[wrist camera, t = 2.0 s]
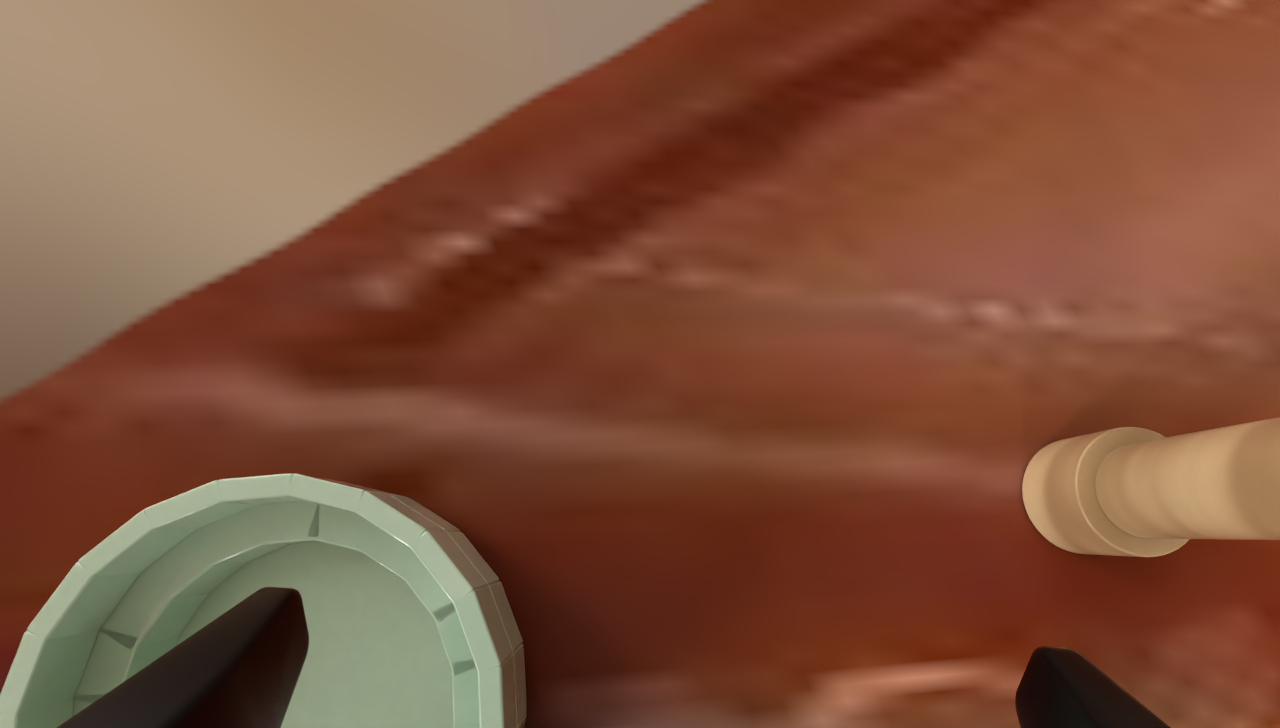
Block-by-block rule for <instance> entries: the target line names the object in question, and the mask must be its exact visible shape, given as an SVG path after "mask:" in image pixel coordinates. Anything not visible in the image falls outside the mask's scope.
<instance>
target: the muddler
mask: <svg viewBox="0 0 1280 728" xmlns="http://www.w3.org/2000/svg"><path fill="white" fill-rule="evenodd" d="M1022 495H1023V501H1024V505H1025V509H1026V511H1027V514H1028V516H1029V518H1030V520H1031V521H1032V523H1033V525H1034V526H1035V527H1036V529H1037V530H1038V531H1039V532H1040V533H1041V534H1042V535H1043V536H1044V537H1045V538H1046V539H1047V540H1048V541H1050V542H1051V543H1053V544H1054V545H1056V546H1058V547H1060V548H1062V549H1064V550H1067V551H1069V552H1073V553H1078V554H1092V555H1113V556H1134V557H1157V556H1162V555H1166V554H1168V553H1171V552H1173V551H1175V550H1177V549H1179V548H1180V547H1181V546H1183V545H1184V544H1185V543H1187V541H1188V540H1189V539H1237V540H1280V417H1279V418H1273V419H1267V420H1262V421H1256V422H1250V423H1245V424H1239V425H1234V426H1228V427H1222V428H1217V429H1211V430H1206V431H1200V432H1194V433H1189V434H1183V435H1177V436H1172V437H1165V436H1163V435H1161V434H1159V433H1157V432H1154V431H1151V430H1148V429H1144V428H1139V427H1120V428H1115V429H1110V430H1105V431H1101V432H1096V433H1091V434H1087V435H1082V436H1077V437H1073V438H1068V439H1064V440H1059V441H1056V442H1053V443H1051V444H1049V445H1047V446H1045V447H1044V448H1042V449H1041V450H1040V451H1039V452H1037V453H1036V454H1035V456H1034V457H1033V458H1032V459H1031V461H1030V463H1029V464H1028V466H1027V469H1026V471H1025V474H1024V478H1023V485H1022Z"/></svg>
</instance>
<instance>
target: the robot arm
mask: <svg viewBox="0 0 1280 728" xmlns="http://www.w3.org/2000/svg"><path fill="white" fill-rule="evenodd" d="M308 648H309V633H308V627H307V622H306V617H305V612H304V606H303V601H302V597H301V594H300V593H299V591H298V590H296V589H293V588H281V587H264V588H261V589H259V590H257V591H256V592H254V593H253V594H251V595H250V596H249V597H247V598H246V599H244V600H243V601H241V602H240V603H238V604H237V605H235V606H234V607H232V608H231V609H230V610H228V611H227V612H225V613H224V614H222V615H221V616H219V617H218V618H216V619H215V620H213V621H212V622H211V623H209V624H208V625H206V626H205V627H203V628H202V629H200V630H199V631H197V632H196V633H194V634H193V635H191V636H190V637H189V638H187V639H186V640H184V641H183V642H181V643H180V644H178V645H177V646H175V647H174V648H172V649H171V650H170V651H168V652H167V653H165V654H164V655H162V656H161V657H159V658H158V659H156V660H155V661H153V662H152V663H151V664H149V665H148V666H146V667H145V668H143V669H142V670H140V671H139V672H137V673H136V674H134V675H133V676H132V677H130V678H129V679H127V680H126V681H124V682H123V683H121V684H120V685H118V686H117V687H115V688H114V689H113V690H111V691H110V692H108V693H107V694H105V695H104V696H102V697H101V698H99V699H98V700H96V701H95V702H94V703H92V704H91V705H89V706H88V707H86V708H85V709H83V710H82V711H80V712H79V713H77V714H76V715H75V716H73V717H72V718H70V719H69V720H67V721H66V722H64V723H63V724H61V725H60V726H58V727H57V728H281V725H282V723H283V720H284V717H285V714H286V712H287V709H288V706H289V703H290V701H291V698H292V695H293V692H294V690H295V687H296V684H297V681H298V679H299V676H300V673H301V670H302V668H303V665H304V662H305V660H306V656H307V653H308ZM1015 704H1016V711H1017V716H1018V719H1019V723H1020V727H1021V728H1170V727H1169V726H1168V725H1167V724H1165V723H1164V722H1163V721H1162V720H1161V719H1159V718H1158V717H1157V716H1156V715H1154V714H1153V713H1152V712H1151V711H1150V710H1148V709H1147V708H1146V707H1145V706H1143V705H1142V704H1141V703H1140V702H1139V701H1137V700H1136V699H1135V698H1134V697H1132V696H1131V695H1130V694H1129V693H1128V692H1126V691H1125V690H1124V689H1123V688H1122V687H1120V686H1119V685H1118V684H1117V683H1115V682H1114V681H1113V680H1112V679H1111V678H1109V677H1108V676H1107V675H1106V674H1104V673H1103V672H1102V671H1101V670H1100V669H1098V668H1097V667H1096V666H1095V665H1093V664H1092V663H1091V662H1090V661H1089V660H1087V659H1086V658H1085V657H1084V656H1082V655H1081V654H1080V653H1078V652H1077V651H1075V650H1073V649H1069V648H1060V647H1047V646H1042V647H1038V648H1037V649H1036V650H1035V651H1034V652H1033V654H1032V656H1031V658H1030V660H1029V663H1028V665H1027V668H1026V670H1025V672H1024V675H1023V677H1022V679H1021V682H1020V684H1019V686H1018V689H1017V692H1016V703H1015Z"/></svg>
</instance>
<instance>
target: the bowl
mask: <svg viewBox="0 0 1280 728" xmlns="http://www.w3.org/2000/svg"><path fill="white" fill-rule="evenodd" d="M264 587H281V588H293V589H296V590H298V591H299V593H300V594H301V597H302V601H303V606H304V612H305V617H306V622H307V627H308V633H309V648H308V653H307V656H306V660H305V662H304V665H303V668H302V670H301V673H300V676H299V679H298V681H297V684H296V687H295V690H294V692H293V695H292V698H291V701H290V703H289V706H288V709H287V712H286V714H285V717H284V720H283V723H282V725H281V728H524V724H525V720H526V712H527V701H526V681H525V661H524V645H523V644H522V643H523V640H522V637H521V634H520V632H519V629H518V626H517V624H516V621H515V618H514V615H513V613H512V610H511V607H510V605H509V602H508V599H507V596H506V594H505V591H504V588H503V586H502V583H501V581H499V578H498V577H497V575H496V574H495V573H494V572H493V570H492V569H491V568H490V567H489V565H488V564H487V563H486V561H485V560H484V559H483V558H482V556H481V555H480V554H479V553H478V551H477V550H476V549H475V548H474V546H473V545H472V544H471V543H470V541H469V540H468V539H467V538H466V536H465V535H464V534H463V533H462V532H461V531H460V530H459V529H458V528H457V527H455V526H453V525H452V524H450V523H449V522H447V521H445V520H444V519H442V518H441V517H439V516H438V515H436V514H434V513H433V512H431V511H430V510H428V509H427V508H425V507H423V506H422V505H420V504H419V503H417V502H416V501H414V500H412V499H411V498H408V497H406V496H403V495H398V494H394V493H390V492H386V491H382V490H377V489H373V488H369V487H365V486H361V485H356V484H352V483H347V482H342V481H336V480H330V479H325V478H319V477H313V476H308V475H302V474H296V473H295V474H293V473H286V474H275V475H263V476H251V477H239V478H228V479H220V480H214V481H212V482H209V483H207V484H204V485H202V486H199V487H197V488H194V489H192V490H190V491H187V492H185V493H182V494H180V495H177V496H175V497H172V498H170V499H167V500H165V501H162V502H160V503H157V504H155V505H152V506H150V507H147V508H145V509H144V510H142V511H141V512H139V513H138V514H137V515H135V516H134V517H133V518H132V519H130V520H129V521H128V522H126V523H125V524H124V525H123V526H121V527H120V528H119V529H117V530H116V531H115V532H114V533H112V534H111V535H110V536H108V537H107V538H106V539H105V540H103V541H102V542H101V543H99V544H98V545H97V546H96V547H94V548H93V549H92V550H91V551H89V552H88V553H87V554H85V555H84V556H83V557H82V558H80V559H79V560H78V562H77V563H76V564H75V565H74V566H73V567H72V569H71V570H70V571H69V573H68V574H67V576H66V577H65V578H64V580H63V581H62V582H61V584H60V585H59V586H58V588H57V589H56V590H55V592H54V593H53V594H52V596H51V597H50V598H49V600H48V601H47V602H46V604H45V605H44V606H43V608H42V609H41V610H40V612H39V613H38V614H37V616H36V617H35V618H34V620H33V621H32V622H31V624H30V625H29V626H28V628H27V631H26V632H25V633H24V635H23V637H22V640H21V643H20V645H19V648H18V650H17V653H16V655H15V658H14V660H13V663H12V665H11V668H10V671H9V673H8V676H7V678H6V681H5V683H4V686H3V688H2V691H1V694H0V728H57V727H58V726H60V725H61V724H63V723H64V722H66V721H67V720H69V719H70V718H72V717H73V716H75V715H76V714H77V713H79V712H80V711H82V710H83V709H85V708H86V707H88V706H89V705H91V704H92V703H94V702H95V701H96V700H98V699H99V698H101V697H102V696H104V695H105V694H107V693H108V692H110V691H111V690H113V689H114V688H115V687H117V686H118V685H120V684H121V683H123V682H124V681H126V680H127V679H129V678H130V677H132V676H133V675H134V674H136V673H137V672H139V671H140V670H142V669H143V668H145V667H146V666H148V665H149V664H151V663H152V662H153V661H155V660H156V659H158V658H159V657H161V656H162V655H164V654H165V653H167V652H168V651H170V650H171V649H172V648H174V647H175V646H177V645H178V644H180V643H181V642H183V641H184V640H186V639H187V638H189V637H190V636H191V635H193V634H194V633H196V632H197V631H199V630H200V629H202V628H203V627H205V626H206V625H208V624H209V623H211V622H212V621H213V620H215V619H216V618H218V617H219V616H221V615H222V614H224V613H225V612H227V611H228V610H230V609H231V608H232V607H234V606H235V605H237V604H238V603H240V602H241V601H243V600H244V599H246V598H247V597H249V596H250V595H251V594H253V593H254V592H256V591H257V590H259V589H261V588H264Z"/></svg>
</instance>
